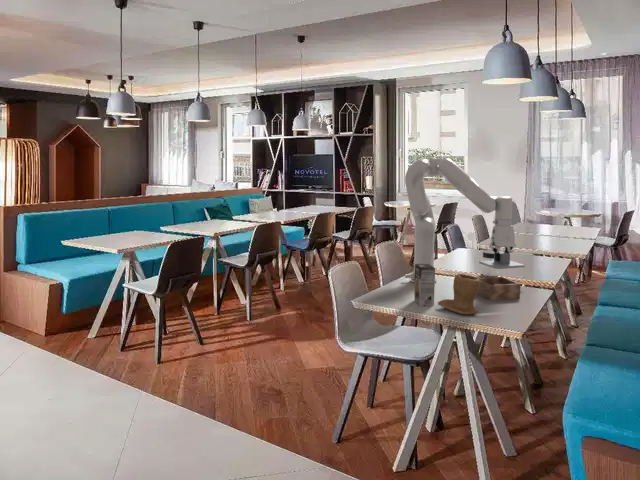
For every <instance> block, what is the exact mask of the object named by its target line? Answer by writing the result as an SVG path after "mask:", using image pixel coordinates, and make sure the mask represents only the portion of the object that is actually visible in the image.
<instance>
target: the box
mask: <svg viewBox="0 0 640 480" xmlns="http://www.w3.org/2000/svg"><path fill="white" fill-rule="evenodd" d="M478 279H479V280H480V287H479V290H478V293H477V295H479V296H481V297H483V298H484V299H487V300H489V301H498V300H510V299H511V300H512V299H520V298H521V283H519V282H517V281H515V280H514V281H513V280H511V279H509V278H507V277H506V278H505V277H503V276H493V277H481V278H480V277H479V278H478ZM495 283H501V284H504V285H494V284H495Z"/></svg>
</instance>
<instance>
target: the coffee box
mask: <svg viewBox="0 0 640 480" xmlns="http://www.w3.org/2000/svg"><path fill="white" fill-rule="evenodd" d="M435 279H436V267H435V266H434V267H433V266H431V265H430V264H415V283H414V295H413V296H414V298H413V299H414V301H415V302H416V304H417V305H418V306H419V305H420V306H419V307H425V306H426V307H427V306H430V307H431V306H433V305H435V289H436V287H435V285H436V284H435V283H436V282H435ZM424 305H425V306H424Z"/></svg>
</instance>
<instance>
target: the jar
mask: <svg viewBox="0 0 640 480" xmlns="http://www.w3.org/2000/svg"><path fill="white" fill-rule="evenodd" d="M491 260H494V251H493V250H484V251H483V252H482V259H481V261H491ZM481 265H482V266H481V275H482V274H483V275H482V276H485V277H498V276H497V275H499V269H494V268H492V267H489V266H486V265H483V264H481Z"/></svg>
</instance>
